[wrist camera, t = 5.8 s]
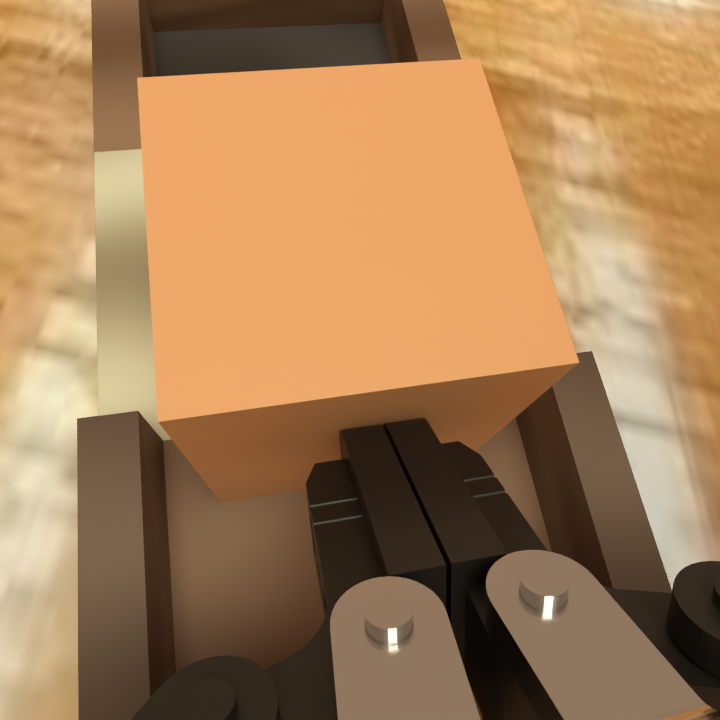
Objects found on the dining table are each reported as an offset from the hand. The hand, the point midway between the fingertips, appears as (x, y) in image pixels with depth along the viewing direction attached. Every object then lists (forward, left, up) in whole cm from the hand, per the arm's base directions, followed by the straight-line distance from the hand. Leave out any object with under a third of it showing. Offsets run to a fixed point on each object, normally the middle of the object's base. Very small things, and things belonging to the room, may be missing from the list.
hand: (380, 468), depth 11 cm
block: (-2, -3, -4) cm, 6 cm away
